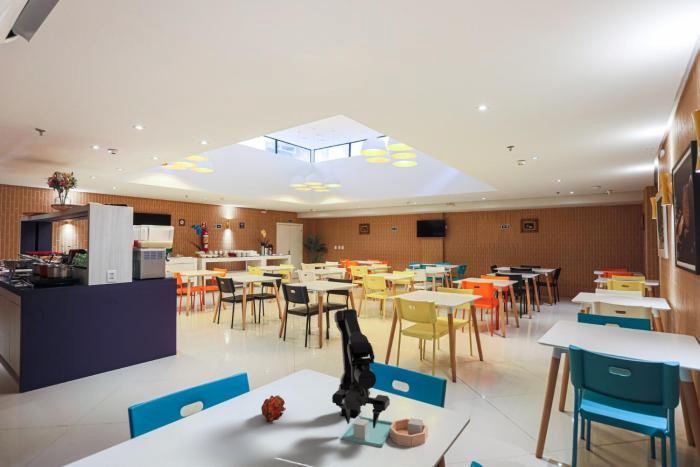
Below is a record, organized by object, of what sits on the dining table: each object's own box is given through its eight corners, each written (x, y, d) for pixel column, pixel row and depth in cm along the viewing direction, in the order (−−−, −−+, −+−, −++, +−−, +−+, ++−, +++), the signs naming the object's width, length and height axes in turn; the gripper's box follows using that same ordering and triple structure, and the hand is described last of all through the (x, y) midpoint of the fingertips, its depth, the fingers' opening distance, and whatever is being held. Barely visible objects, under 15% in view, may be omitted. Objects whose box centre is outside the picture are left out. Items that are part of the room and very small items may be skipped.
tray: (341, 440, 122) (341, 436, 122) (359, 419, 136) (359, 416, 136) (382, 448, 116) (381, 444, 116) (396, 425, 131) (396, 422, 131)
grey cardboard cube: (353, 439, 122) (353, 423, 122) (358, 433, 125) (357, 418, 125) (365, 441, 120) (364, 425, 120) (369, 435, 124) (368, 420, 124)
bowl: (386, 443, 119) (386, 431, 119) (396, 426, 130) (396, 416, 130) (422, 449, 115) (422, 438, 115) (429, 432, 125) (429, 422, 125)
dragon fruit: (280, 414, 146) (270, 434, 134) (263, 401, 146) (251, 420, 134) (292, 398, 144) (282, 416, 132) (274, 385, 145) (263, 403, 133)
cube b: (420, 441, 119) (419, 425, 119) (408, 438, 120) (407, 423, 121) (423, 435, 122) (422, 419, 123) (411, 433, 124) (410, 418, 124)
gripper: (324, 382, 120) (325, 432, 119) (378, 390, 112) (380, 442, 112) (338, 372, 130) (339, 417, 129) (389, 378, 123) (390, 426, 122)
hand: (361, 425), depth 123 cm, fingers open, 9 cm apart
